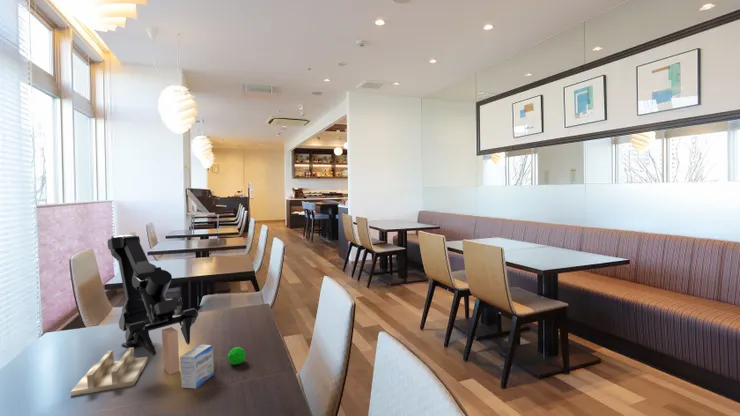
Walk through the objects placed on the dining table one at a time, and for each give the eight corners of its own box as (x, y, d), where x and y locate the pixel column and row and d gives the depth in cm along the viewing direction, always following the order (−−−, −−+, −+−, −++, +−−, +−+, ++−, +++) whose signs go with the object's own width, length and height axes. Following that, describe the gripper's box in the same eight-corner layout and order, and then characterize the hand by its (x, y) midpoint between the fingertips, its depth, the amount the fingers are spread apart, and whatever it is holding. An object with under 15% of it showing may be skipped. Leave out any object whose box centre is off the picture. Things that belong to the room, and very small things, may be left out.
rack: (94, 368, 110) (93, 352, 109) (148, 360, 114) (147, 345, 114) (70, 396, 94) (69, 378, 94) (133, 385, 99) (132, 368, 99)
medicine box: (195, 389, 96) (194, 357, 96) (180, 388, 97) (179, 356, 97) (214, 374, 104) (213, 344, 103) (200, 373, 105) (199, 343, 104)
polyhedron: (249, 361, 112) (248, 345, 112) (238, 368, 107) (238, 352, 107) (235, 359, 113) (234, 343, 113) (224, 366, 109) (223, 350, 109)
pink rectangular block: (164, 369, 107) (161, 329, 107) (173, 366, 109) (171, 327, 109) (170, 374, 104) (168, 333, 104) (179, 371, 106) (177, 330, 106)
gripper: (126, 296, 101) (141, 345, 95) (194, 282, 116) (212, 324, 109) (118, 318, 107) (133, 366, 100) (185, 302, 121) (201, 344, 114)
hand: (172, 349), depth 106 cm, fingers open, 9 cm apart
